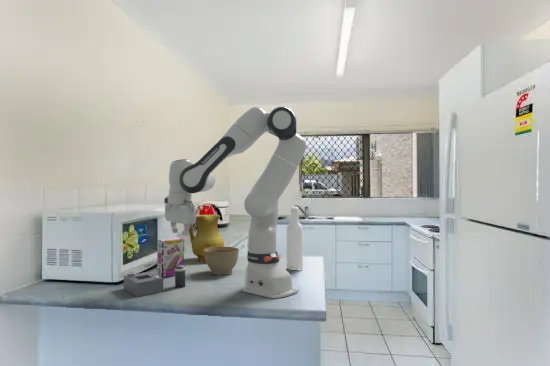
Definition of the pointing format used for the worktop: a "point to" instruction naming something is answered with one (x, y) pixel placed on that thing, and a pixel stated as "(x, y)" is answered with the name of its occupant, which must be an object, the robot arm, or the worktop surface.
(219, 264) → the planter bowl
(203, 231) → the pitcher
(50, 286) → the worktop surface
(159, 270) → the candy bar box
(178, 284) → the lens
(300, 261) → the bottle
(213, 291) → the worktop surface
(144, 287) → the block
